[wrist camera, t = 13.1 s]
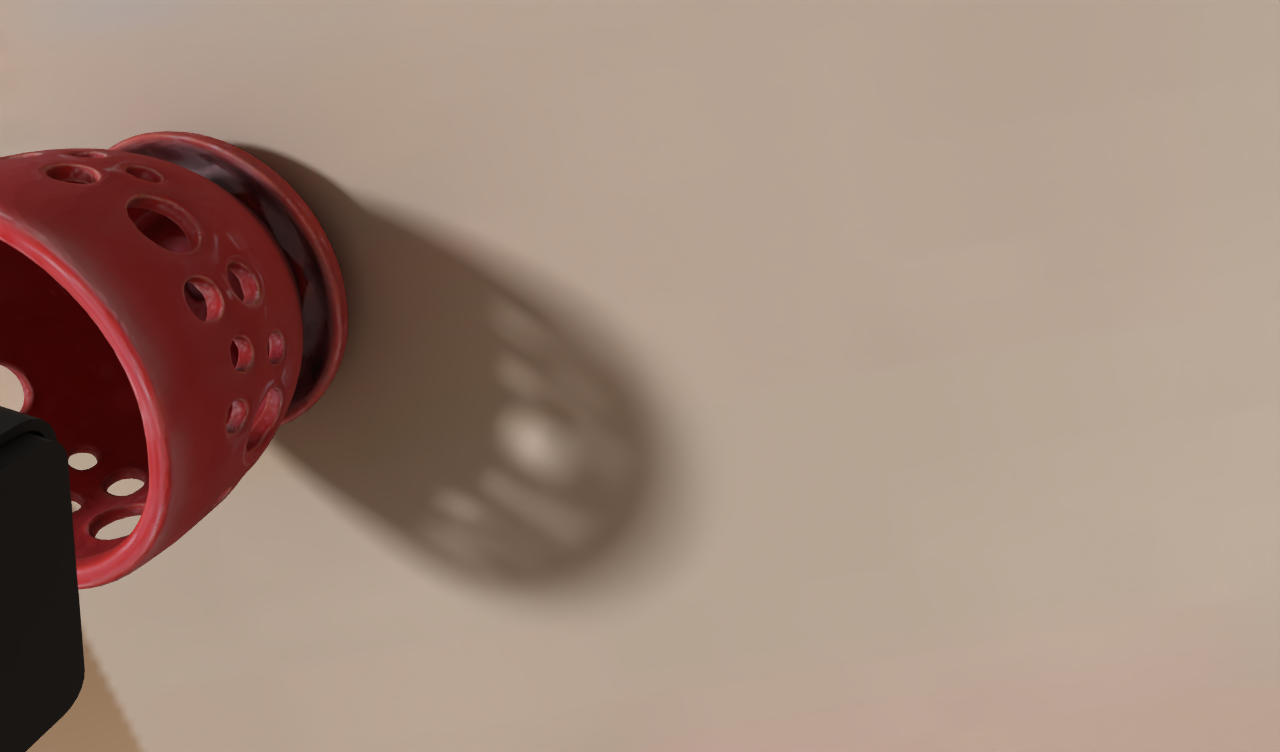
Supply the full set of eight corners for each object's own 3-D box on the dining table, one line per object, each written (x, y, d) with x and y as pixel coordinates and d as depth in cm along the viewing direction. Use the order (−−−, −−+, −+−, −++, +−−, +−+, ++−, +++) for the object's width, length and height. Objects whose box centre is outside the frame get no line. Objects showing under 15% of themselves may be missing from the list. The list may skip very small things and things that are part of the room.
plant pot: (244, 34, 39) (-28, 106, 29) (439, 360, 42) (260, 531, 32) (9, 189, 44) (-291, 296, 34) (199, 467, 48) (-21, 642, 37)
